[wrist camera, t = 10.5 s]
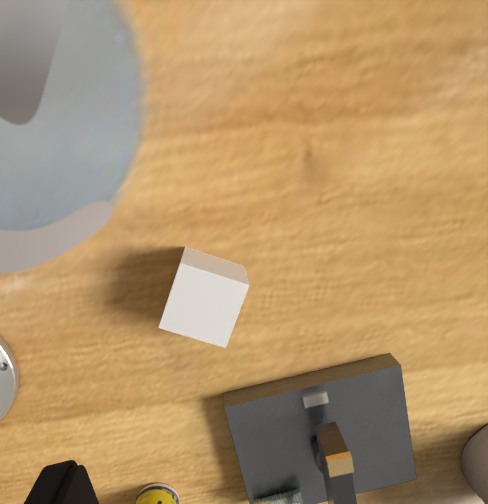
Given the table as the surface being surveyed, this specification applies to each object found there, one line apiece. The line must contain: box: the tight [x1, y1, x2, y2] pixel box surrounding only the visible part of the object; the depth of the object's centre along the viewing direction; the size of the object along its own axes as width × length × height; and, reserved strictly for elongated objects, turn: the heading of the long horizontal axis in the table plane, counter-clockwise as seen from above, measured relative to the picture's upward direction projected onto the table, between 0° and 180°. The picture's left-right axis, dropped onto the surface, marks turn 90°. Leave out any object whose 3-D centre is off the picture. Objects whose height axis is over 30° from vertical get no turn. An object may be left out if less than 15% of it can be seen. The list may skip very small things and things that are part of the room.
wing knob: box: [312, 422, 357, 504], centre depth 38 cm, size 9×3×7 cm, turn 11°
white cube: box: [159, 247, 249, 348], centre depth 37 cm, size 6×6×6 cm
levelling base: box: [224, 353, 416, 504], centre depth 42 cm, size 18×14×4 cm
